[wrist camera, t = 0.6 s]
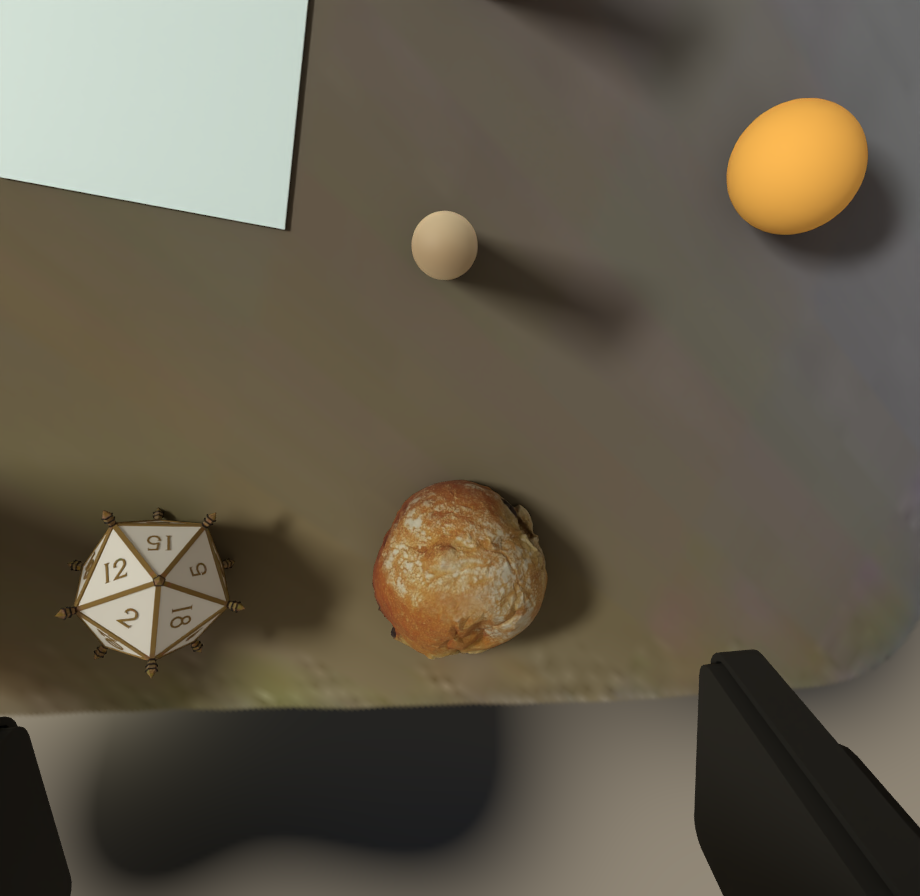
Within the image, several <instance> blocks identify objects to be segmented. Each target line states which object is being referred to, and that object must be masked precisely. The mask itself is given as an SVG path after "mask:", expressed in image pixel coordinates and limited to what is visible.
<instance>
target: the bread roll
mask: <svg viewBox="0 0 920 896" xmlns="http://www.w3.org/2000/svg"><path fill="white" fill-rule="evenodd" d="M538 541H539V539H538V535H535V534H534V533H533V523H532V520H531V517H530V514H529V513H528V511H527V510H526V509H525V508H524V507H522V506H521V505H520V504H519V505H518V506H516V507H513V506H512V505H511V504H510V503H509V502H508V501H507V500H505V499H504V498H502V497H501V496H500V495H499V494H498V493H496V492H494V491H492V490H491V488H489V487H487V486H482V485H479V484H477V483H474V482H471V481H466V480H453V481H445V482H440V483H436V484H432V485H430V486H428V487H426V488H424V489H422V490H420V491H418V492H417V493H415V494H413V495H412V496H411V497H409V498H408V499H407V500H406V501H405V502H404V503H403V505H402V508H401V509H400V510H399V511H398V512H397V515H396V518H395V519H394V521H393V523H392V527H391V528H390V529H389V531H388V532H387V533H386V535H385V537H384V541H383V544H382V546H381V548H380V550H379V553H378V556H377V559H376V562H375V564H374V570H373V583H372V584H373V587H374V590H375V598H376V601H377V603H378V605H379V609H378V610H380V611H381V612H382V613H383V614H384V617H386V618H387V619H388V620H389V621H390V622H391V623H392V625H393V628H392V631H391V636H392V637H393V638H394V639H395V640H398V641H400V642H402V643H404V644H406V645H408V646H409V647H411V648H413V649H415V650H416V651H418V652H420V653H422V654H425V655H426V656H427V657H428V658H429V659H436V658H443V657H446V656H449V655H456V654H458V653H462V654H465V653H469V654H476V653H482V652H484V651H486V650H489V649H490V648H493V647H496V646H498V645H500V644H502V643H505V642H507V641H509V640H511V639H512V638H513V637H515V636H516V635H518V634H519V633H521V632H522V631H523V630H524V629H525V628H526V627H528V626H529V625H530V624H531V622H532V621H533V620H534V618H535V616H536V615H537V614H538V612H539V610H540V607H541V604H542V601H543V599H544V594H545V590H546V585H547V580H548V577H547V572H546V569H545V564H546V563H545V558H544V555H543V552H542V549H541V548H540V546H539V543H538Z"/></svg>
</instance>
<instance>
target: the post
mask: <svg viewBox="0 0 920 896" xmlns="http://www.w3.org/2000/svg"><path fill="white" fill-rule="evenodd" d="M477 249H478V242H477V237H476V233H475V231H474V229H473V227H472V226H471V224H470V223H469V222H468V221H467V220H466V219H465V218H464V217H462V216H461V215H459V214H457V213H454V212H450V211H439V212H435V213H432V214H430V215H428V216H427V217H425V218H424V219H423V220H422V221H421V222H420V223H419V224H418V226H417V227H416V229H415V231H414V234H413V238H412V253H413V256H414V259H415V261H416V263H417V265H418V266H419V267H420V269H421V270H422V271H423V272H424V273H426V274H427V275H429V276H431V277H433V278H435V279H440V280H450V279H454V278H457V277H459V276H461V275H463V274H464V273H465V272H466V271H468V269H469V268H470V267H471V266H472V264H473V262H474V260H475V258H476V255H477Z"/></svg>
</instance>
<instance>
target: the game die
mask: <svg viewBox="0 0 920 896" xmlns="http://www.w3.org/2000/svg"><path fill="white" fill-rule="evenodd" d="M153 514H154V516H153V517H154V519H155V520H146V521H132V522H118V523H116V522H115V516H114V517H113V513H110V512H107V511H104V510H103V516H102V520H104V521H105V522H104V523H105V524H108V525H109V528H108V530H107V531H106V533H105V534H104V536H103V537H102V539H101V540H100V541H99V543H98V544H97V546H96V547H95V549H94V550H93V552H92V553H91V554H90V556H89V557H88V559H87V560H86V562H85V563H84V564H82V563H81V561H79V562H78V561H77V560H75V561H73V562H70V563H68V565H69V566H70V568H71V570H75V571H79V570H81V574H80V579H79V584H78V589H77V593H76V598H75V603H74V607H71V608H70V607H66V608H61V610H60V611H59V612H58V613H57V614H56V615H55V617H59V618H62V619H64V620H65V619H66V618H68V617H69V618H70V617H71V616H72V615H73V614H76V615H77V616H78V617H79V618H80V619H81V620H82V622H83V623H84V624H85V625H86V626H87V627H88V629H89V630H90V631H91V632H92V633H93V634H94V636H95V637H96V638H97V639H98V640H99V641H100V643H101V644H102V646H100V647H97V650H95V651H94V653H95V654H94V659H97V658H101V657H102V658H103V657H104V654H106V652H107V649H108V648H109V649H112V650H115V651H118V652H122V653H125V654H128V655H131V656H134V657H138V658H141V659H144V660H147V661H148V664H147V665H146V671H145V672H147V674H148V675H149V676H150V678H152V677H153V675H154V674H155V673H156V672H157V671H158V670H157V667H158V665H157V664H156V660H157V659H159V658H161V657H163V656H166V655H168V654H170V653H172V652H174V651H176V650H178V649H180V648H182V647H185V646H187V645H189V644H191V647H192V648H193V651H194V652H195V651H197V652H201V650H202V646H203V644H201V642H200V641H197V638H198V637H199V636H200V635H201V634H202V633H203V632H204V631H205V630H206V629H207V628H208V627H209V626H210V625H211V624H212V623H213V622H214V621H215V620H216V619H217V618H218V617H219V616H220V615H221V614H222V613H223V612H224V611H225V610H226V609H227V608H230V609H231V611H236V613H237V612H238V611H240V610H243V609H245V608H244V607H243V605H242V604H241V602H236V601H233V602H231V601H230V600H229V594H228V589H227V584H226V578H225V573H224V568H225V569H228V568H232V565H233V564H234V561H232V560H230V559H229V558H228V559H227V560H224V561H223V562H222V561H221V559H220V556H219V554H218V552H217V549H216V547H215V544H214V542H213V539H212V537H211V534H210V532H209V529H208V527H209V526H210V525H213V522H216V520H215V519H216V513H213V514H209V515H208V514H207V517H206V518H204V522H203V523H202V524H199V523H189V522H179V521H168V520H162V518H163V517H164V516H163V514H164V512H162V511H161V510H160V509H159V508H158V509H157V510H156V511H155V512H153Z"/></svg>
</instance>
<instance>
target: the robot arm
mask: <svg viewBox="0 0 920 896" xmlns="http://www.w3.org/2000/svg"><path fill="white" fill-rule="evenodd" d="M694 821H695V829H696V833H697V837H698V841H699V844H700V846H701V849H702V851H703V853H704V855H705V857H706V859H707V862H708V864H709V866H710V868H711V870H712V872H713V875H714V877H715V879H716V881H717V883H718V885H719V887H720V889H721V892H722V894H723V895H724V896H920V828H919V826H917V824H916V823H915V822H914V821H913V819H912V818H911V817H910V816H909V815H908V814H907V813H906V812H905V810H904V809H903V808H902V807H901V806H900V805H899V803H898V802H897V801H896V800H895V799H894V798H893V797H892V795H891V794H890V793H889V792H888V791H887V790H886V789H885V788H884V786H883V785H882V784H881V783H880V782H879V780H878V779H877V778H876V777H875V776H874V775H873V774H872V772H871V771H870V770H869V769H868V768H867V767H866V766H865V764H863V762H862V761H861V760H860V759H859V758H858V756H856V755H855V754H854V753H853V752H852V751H851V750H850V749H849V748H848V747H845V746H843V745H841V744H838V743H837V742H836V740H835V739H834V738H833V737H832V736H831V735H830V733H829V732H828V731H827V730H826V729H825V728H824V726H823V725H822V724H821V723H820V722H819V720H818V719H817V718H816V717H815V716H814V715H813V713H812V712H811V711H810V710H809V709H808V708H807V707H806V705H805V704H804V703H803V702H802V701H801V699H800V698H799V697H798V696H797V695H796V694H795V692H794V691H793V690H792V689H791V688H790V687H789V685H788V684H787V683H786V682H785V681H784V680H783V678H782V677H781V676H780V675H779V674H778V672H777V671H776V670H775V669H774V668H773V667H772V665H771V664H770V663H769V662H768V661H767V660H766V658H765V657H764V656H763V655H762V654H761V653H760V652H759V651H757V650H742V651H731V652H720V653H715V654H714V655H713V656H712V659H711V664H707V665H703V666H701V669H700V674H699V700H698V728H697V756H696V785H695V812H694ZM71 883H72V882H71V876H70V873H69V869H68V866H67V863H66V859H65V856H64V852H63V849H62V846H61V842H60V839H59V835H58V832H57V828H56V825H55V822H54V818H53V815H52V811H51V808H50V805H49V801H48V798H47V795H46V791H45V788H44V784H43V781H42V777H41V774H40V770H39V767H38V764H37V761H36V757H35V754H34V750H33V747H32V743H31V740H30V736H29V734H28V732H27V730H26V729H25V728H23V727H18V726H17V724H16V722H15V721H14V720H13V719H12V718H9V717H0V896H70V894H71Z"/></svg>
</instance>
